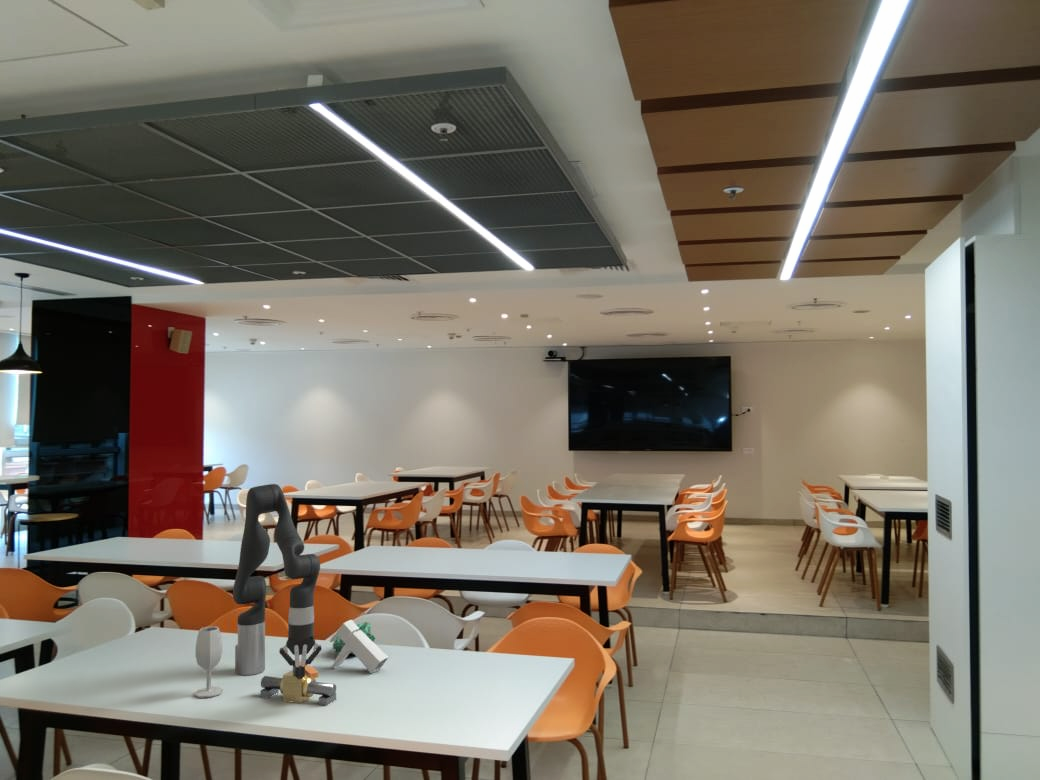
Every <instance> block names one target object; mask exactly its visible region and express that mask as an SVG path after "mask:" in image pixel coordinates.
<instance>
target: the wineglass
mask: <svg viewBox="0 0 1040 780" xmlns="http://www.w3.org/2000/svg"><path fill="white" fill-rule="evenodd" d="M195 643H196V644H195V659H196V664H197V665H198V666H199V667H201V668H202V669H203V670H204V671H205V672H206V687H204V688H203V687H202V688H200V689H197V690H196V691H195V692H194V697H196V698H198V699H205V698H213V697H217V696H219V695H221V694H222V693H223V691H224V688H222V687H220V686H212V670H213V669H214V668H216V666H217V665H219V663H220V662H221V659H222V654H223V641H222V633H221V631H220V628H219V627H218V626H216V625H215V626H206V627H205V626H204V627H201V628H200V629H199V630H198V634H197V637H196V642H195Z"/></svg>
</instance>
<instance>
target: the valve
mask: <svg viewBox="0 0 1040 780" xmlns="http://www.w3.org/2000/svg"><path fill="white" fill-rule="evenodd" d="M260 687H261V690H260V698H262V697H270V696H272V695H274V694H275V695H277V694H279V691H280V693H281V695H282V701H283V700H286V701H285V702H288V701H292V702H291V703H296V702H299V703H298V704H303V703H305V702H306V701H308V700H310V699H311V698H310V697H312V696H313V697H314V695H318V696H319V695H320V696H319V697H318V705H319V704H321V705H320V706H325V705H327V706H329V705H331V704H332V703H334V702H335V701H334V700H336V701H337V693H336V692H337V685H336V684H335V683H330V682H329V683H328V682H318V681H316V678H313V679H310V678H309V677H307V676H306V675H305V676H304V677H302V679H298V678H296V677H295V674H294V673H293V669H292V670H290V671H288V672H286V673H284V674H283V675H282V677H276V676H268V675H264V676H263V677H262V678H261V681H260ZM276 693H277V694H276ZM275 695H274V696H275ZM272 697H273V696H272ZM313 697H312V698H313ZM270 698H271V697H270ZM309 698H310V699H309ZM307 699H308V700H307ZM305 700H306V701H305ZM304 701H305V702H304ZM333 701H334V702H333ZM302 702H303V703H302ZM331 702H332V703H331ZM330 703H331V704H330ZM328 704H329V705H328Z"/></svg>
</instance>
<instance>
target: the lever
mask: <svg viewBox="0 0 1040 780" xmlns="http://www.w3.org/2000/svg"><path fill="white" fill-rule="evenodd" d="M299 662H300V665H301V660H299ZM292 670H293V673H294V674H295V666H292ZM305 675H306V676H307V677H309V678H310V679H313V678H315V679H317V678H319V671H318V670H316V669H315V668H313V667H312V666H311V665H309V664H308V665H306V666H305Z"/></svg>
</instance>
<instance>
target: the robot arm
mask: <svg viewBox="0 0 1040 780" xmlns="http://www.w3.org/2000/svg"><path fill="white" fill-rule="evenodd" d="M245 501H246V503H245V519H244V527H243V528H244V529H243V533H242V534H243V535H242V539H241V544H240V552H239V561H238V566H237V572H236V575H235V579H234V584H233V589H232V597H233V601H234V603H235V604H237V605H250V604H253V606H252V607H250V608H249V609H247V610H246V611H244V612H242V613H240V614H238V616H237V644H235V645H234V646H235V647H234V654H235V655H234V659H235V660H234V661H235V662H234V664H235V665H234V671H235V672H234V673H237V674H238V675H240V676H251V675H252V676H253V675H257V674H261V673H263V672H264V671H265V670H266V600H267V599H266V598H267V582H266V579H265V577H264V576H263V575H258V576H257V575H256V576H251V575H252V574H253V573H254V572H255V571H257V570H258V568H260V566H261V565H262V564H263V563H264V562H265V561H266V560H267V557H268V555H269V551H270V546H271V538H270V535H269V533H268V531H267V530H266V529H265V528H264V527H263V525H262V523H261V522H260V521H259V518H260V515H263V514H268V513H274V512H276V513H277V515H278V519H277V522H276V525H275V528H274V541H275V543H276V545H277V547H278V549H279V551H280V552H281V554H282V561H283V570H284V573H285V574H284V575H286V576H287V578H288V579H290V580H299V579H300V580H301V579H303V580H301V581H302V582H301V583H300V584H298V585H295V586H293V587H291V589H290V591H289V609H288V619H287V620H288V624H287V625H288V626H287V627H288V628H287V629H288V632H287V640H286V642H285V645H284V646H282V647H280V648H279V651H278V652H279V654H280V655H281V656H282V658H283V659H284V660H285V661H286V662H287V663H288V665H289V666H290V667H293V666H295V677H296V678H298V679H302V677H304V676H305V666H306V665H308V666H309V665H311V664H312V663H313V661H314V660H315V659H316V657H318V655H319V653H320V652H321V651H322V645H321V644H318V643H316V638H314V634H315V633H314V631H315V630H314V629H315V609H314V602H315V601H314V597H315V596H314V595H315V594H314V593H315V589H316V586H317V585H316V584H317V581H318V579H319V574H320V571H321V563H320V562H321V561H320V558H319V557H318V555H316V554H315V553H308V554H302V553H304V550H305V544H304V542H303V539H302V538H301V536H300V533H299V532H298V531H297V528H296V526H295V524H294V522H293V518H292V514H291V511H290V508H289V506H288V503H287V500H286V496H285V494H284V491H283V490H282V488H281V486H280V485H279V484H276V483H269V484H264V485H256V486H253V487H250V488H249V489H248V491H247V494H246V499H245ZM312 648H313V651H312ZM289 651H290V652H291V654H292V655H294V659H293V658H292V657H291V656H290V655H289V653H288V652H289ZM310 651H312V653H311V654H310V655H309V656H308V658H307V655H308V654H309V653H310ZM300 656H301V660H300ZM299 661H301V665H300V662H299ZM260 672H261V673H260Z"/></svg>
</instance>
